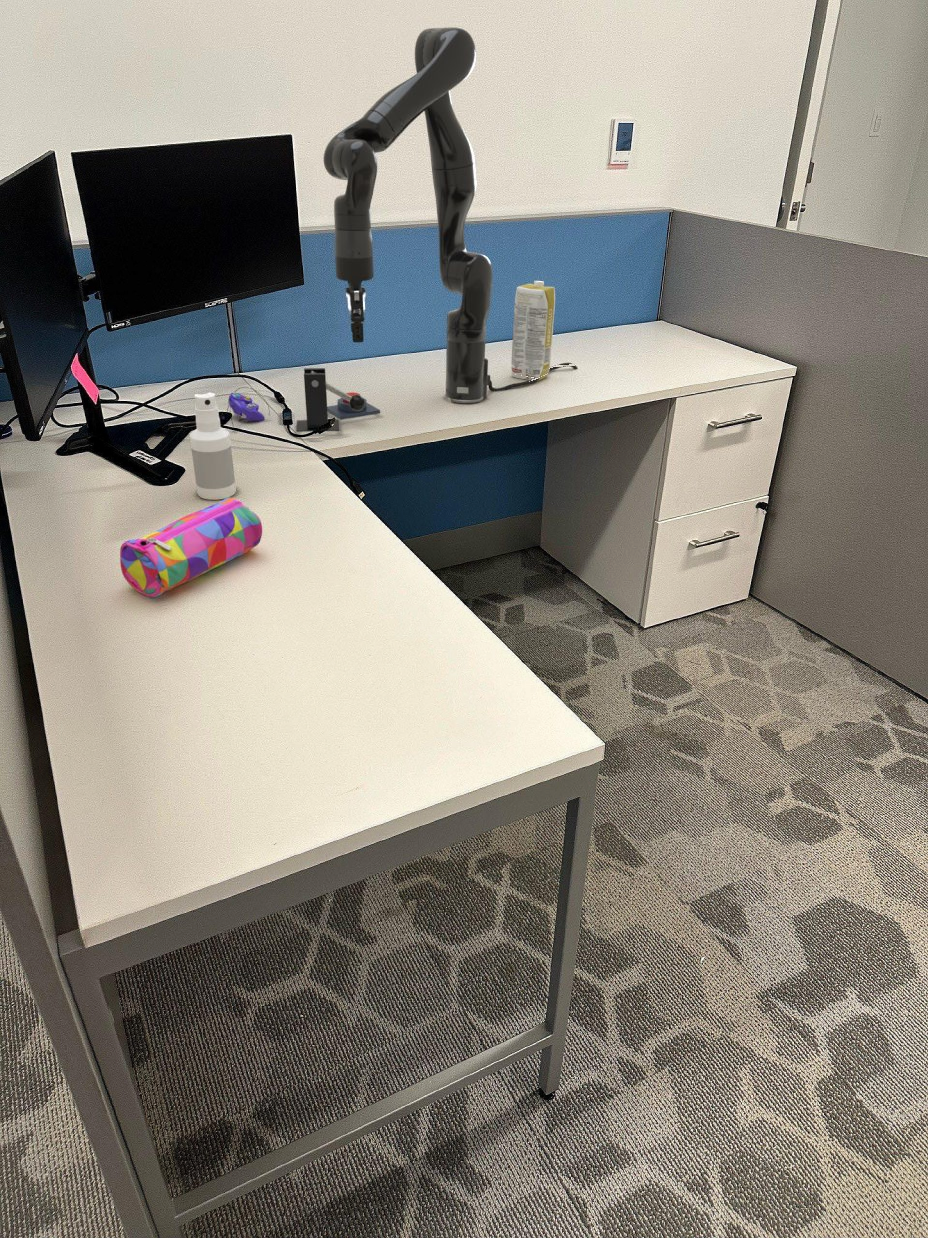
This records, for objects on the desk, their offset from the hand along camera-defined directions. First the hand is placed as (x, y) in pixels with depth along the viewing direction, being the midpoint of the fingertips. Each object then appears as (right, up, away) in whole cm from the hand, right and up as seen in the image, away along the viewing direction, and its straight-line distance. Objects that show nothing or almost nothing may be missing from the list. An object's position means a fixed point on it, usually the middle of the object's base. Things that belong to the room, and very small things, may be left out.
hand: (357, 336), depth 180 cm
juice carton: (+40, +5, +50) cm, 64 cm away
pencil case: (-18, -52, -49) cm, 73 cm away
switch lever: (-6, -11, +5) cm, 14 cm away
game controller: (-27, -16, +11) cm, 33 cm away
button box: (-3, -12, +18) cm, 22 cm away
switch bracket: (-10, -18, +9) cm, 22 cm away
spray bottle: (-23, -36, -23) cm, 48 cm away
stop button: (-3, -9, +16) cm, 19 cm away
